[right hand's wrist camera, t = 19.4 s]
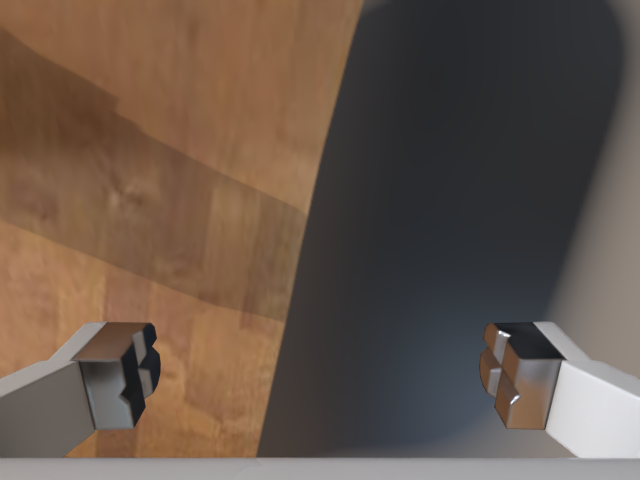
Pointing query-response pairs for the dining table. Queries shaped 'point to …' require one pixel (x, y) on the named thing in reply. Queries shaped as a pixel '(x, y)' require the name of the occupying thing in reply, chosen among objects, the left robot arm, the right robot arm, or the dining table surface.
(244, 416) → the dining table surface
